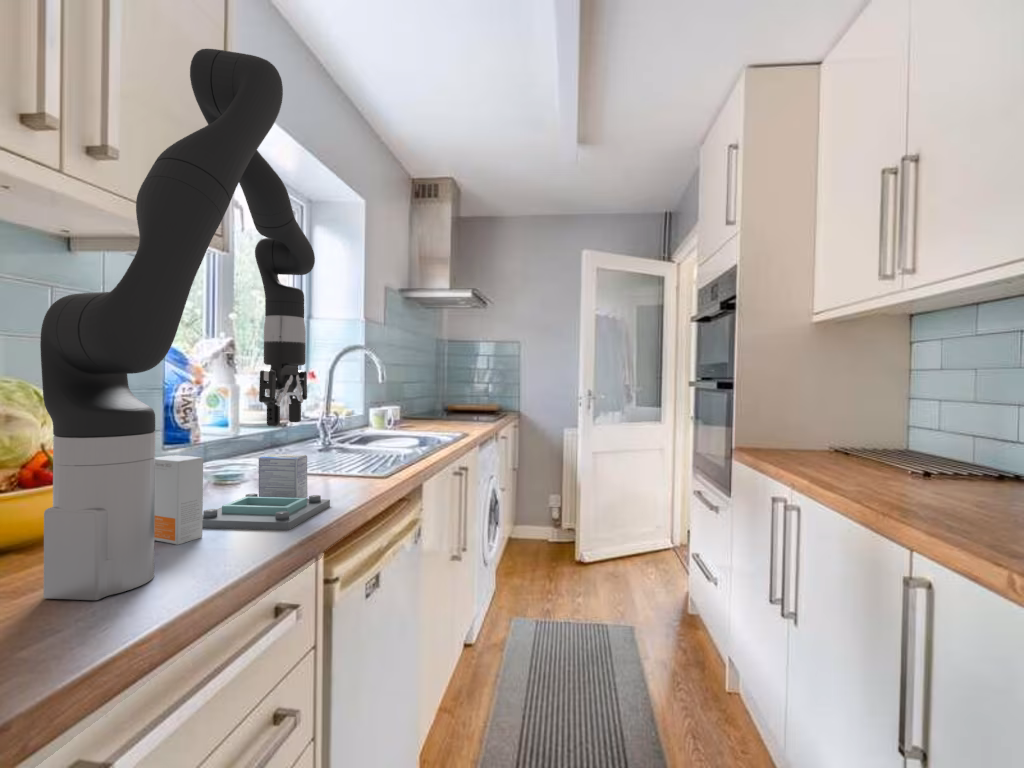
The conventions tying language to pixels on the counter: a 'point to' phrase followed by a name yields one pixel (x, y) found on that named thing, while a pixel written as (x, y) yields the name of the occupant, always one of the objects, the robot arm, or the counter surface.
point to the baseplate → (264, 512)
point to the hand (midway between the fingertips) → (284, 423)
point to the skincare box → (178, 498)
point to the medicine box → (283, 476)
